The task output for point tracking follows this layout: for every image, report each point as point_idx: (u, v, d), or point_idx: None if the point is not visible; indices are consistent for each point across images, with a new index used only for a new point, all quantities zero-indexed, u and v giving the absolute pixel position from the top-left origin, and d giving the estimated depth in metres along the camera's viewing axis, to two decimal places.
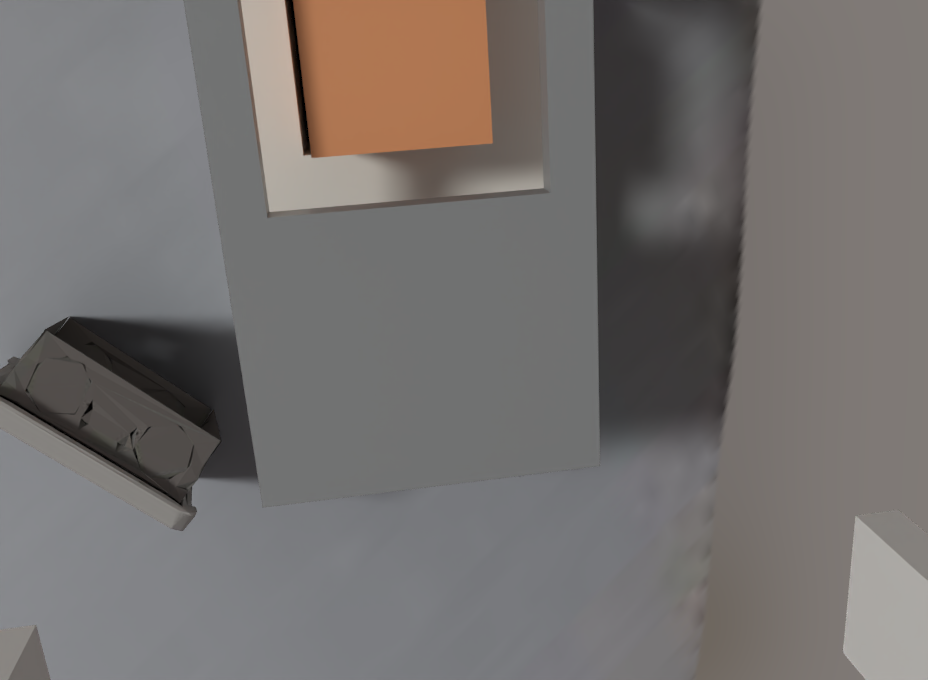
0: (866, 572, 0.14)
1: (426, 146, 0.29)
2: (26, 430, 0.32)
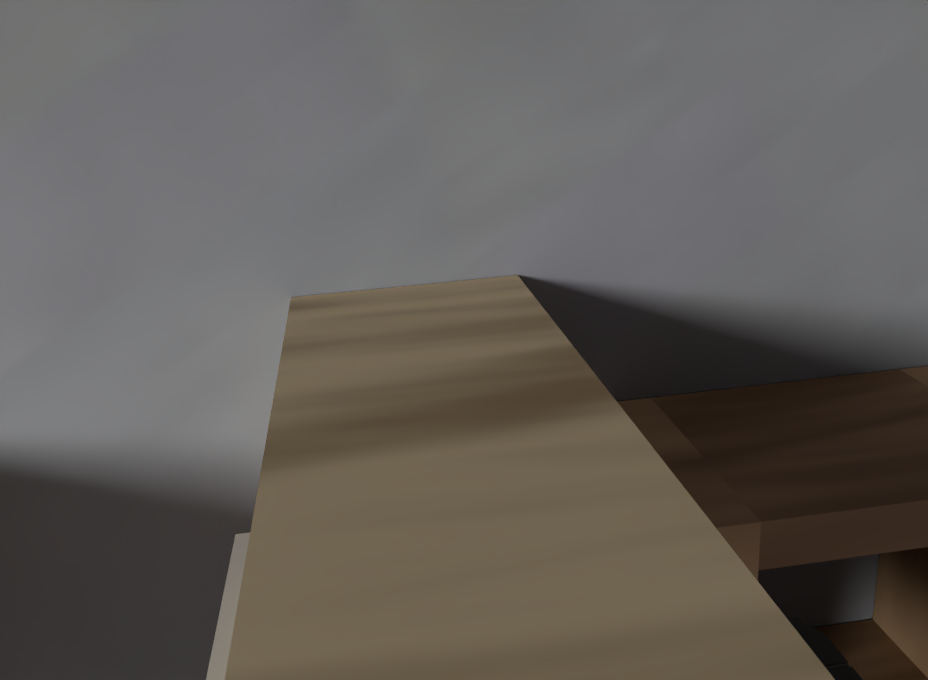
0: None
1: None
2: None
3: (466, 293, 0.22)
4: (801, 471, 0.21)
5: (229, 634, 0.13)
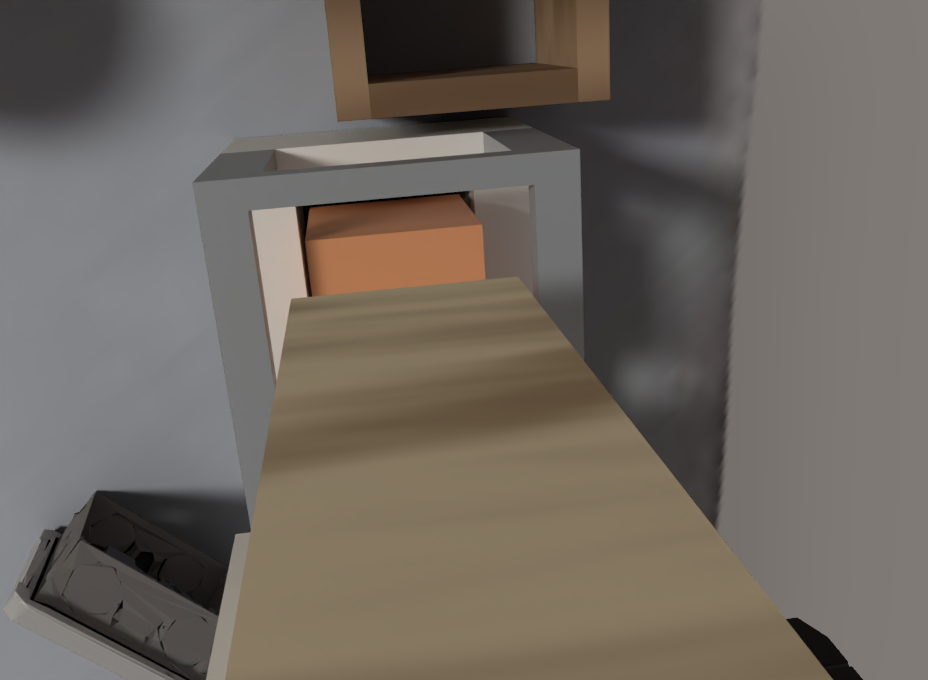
0: None
1: None
2: (63, 635, 0.34)
3: (466, 295, 0.22)
4: None
5: (229, 634, 0.13)
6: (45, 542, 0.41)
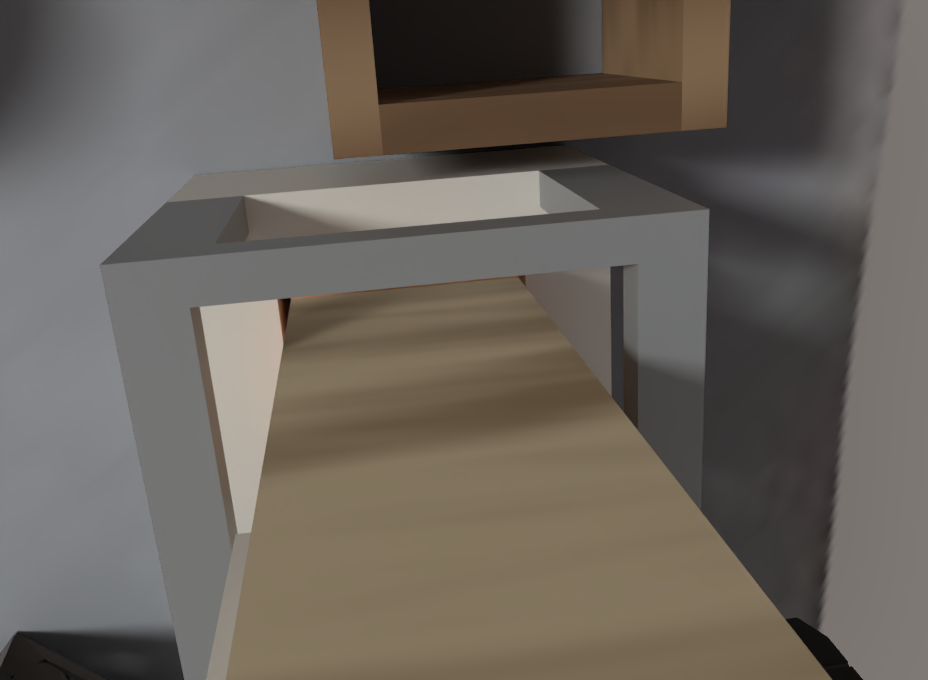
0: None
1: None
2: None
3: (466, 295, 0.22)
4: None
5: (229, 634, 0.13)
6: None
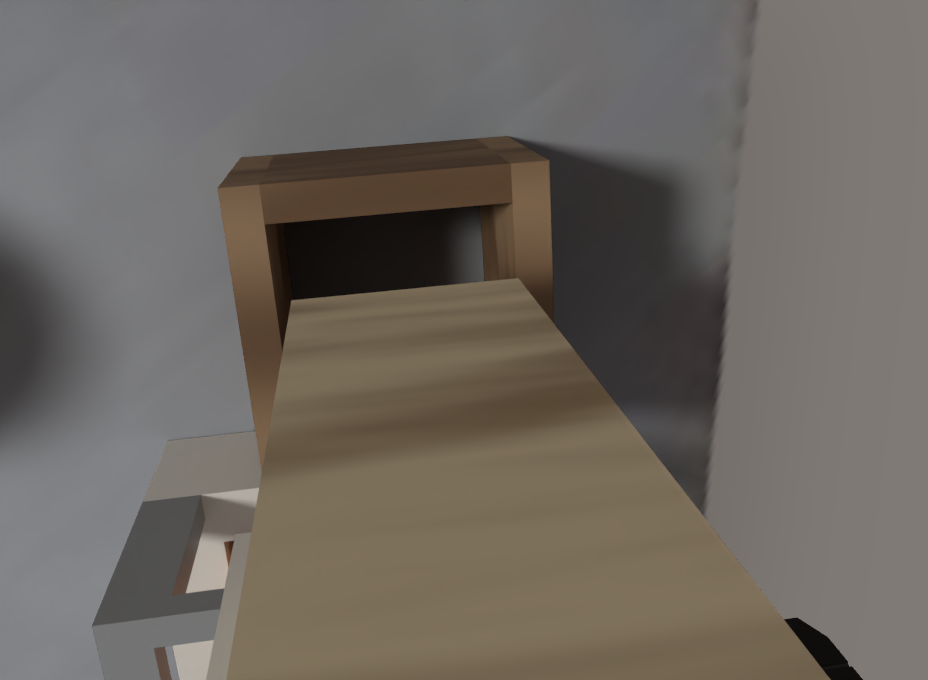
0: None
1: None
2: None
3: (467, 296, 0.22)
4: (323, 170, 0.28)
5: (229, 634, 0.13)
6: None
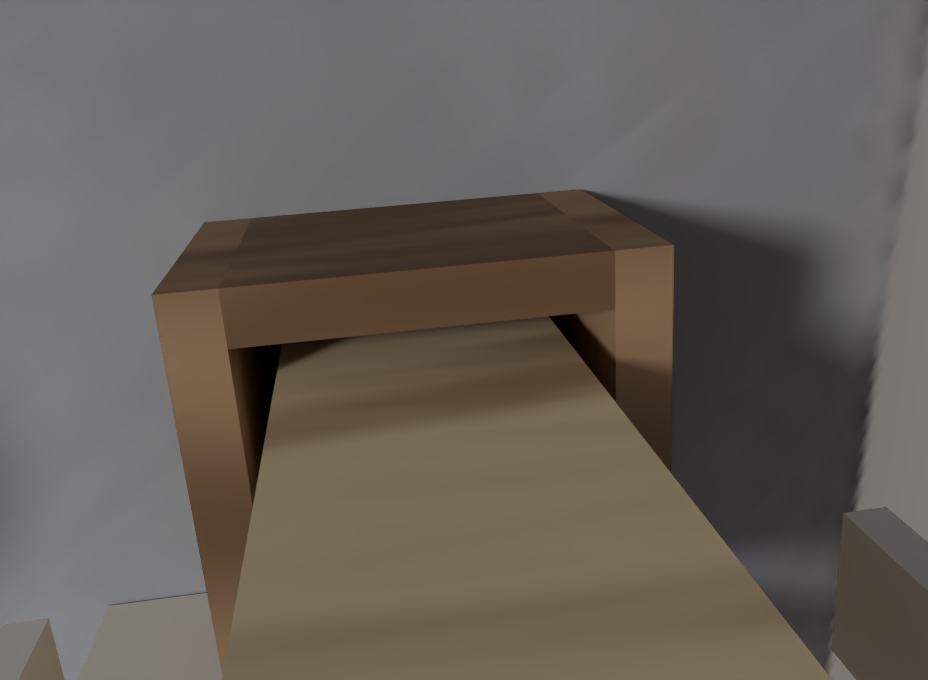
0: (853, 569, 0.14)
1: None
2: None
3: None
4: (322, 256, 0.18)
5: None
6: None
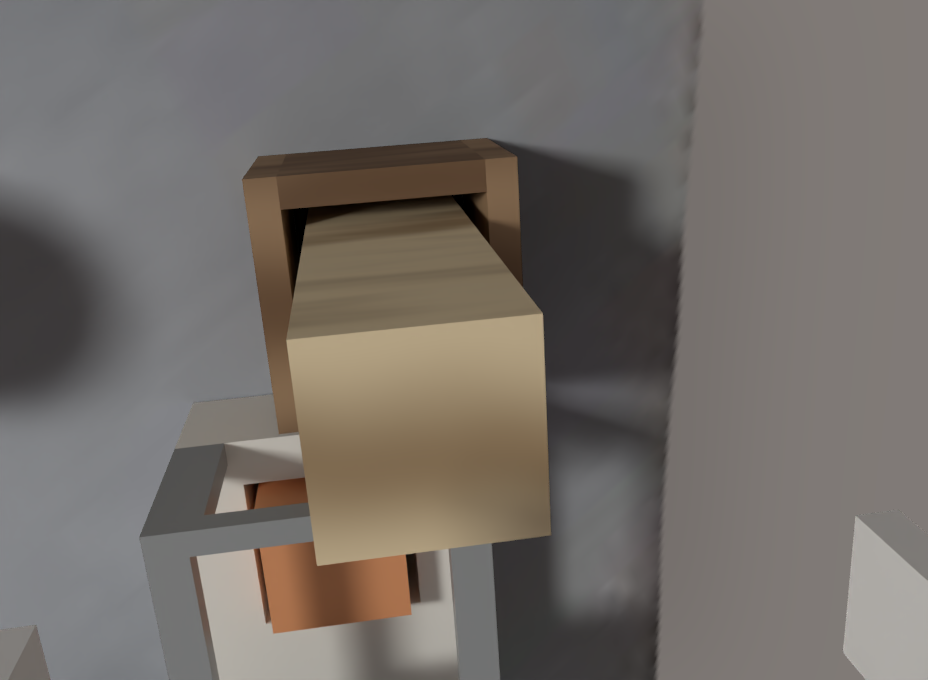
0: (866, 572, 0.14)
1: (360, 620, 0.39)
2: None
3: None
4: (329, 165, 0.34)
5: None
6: None
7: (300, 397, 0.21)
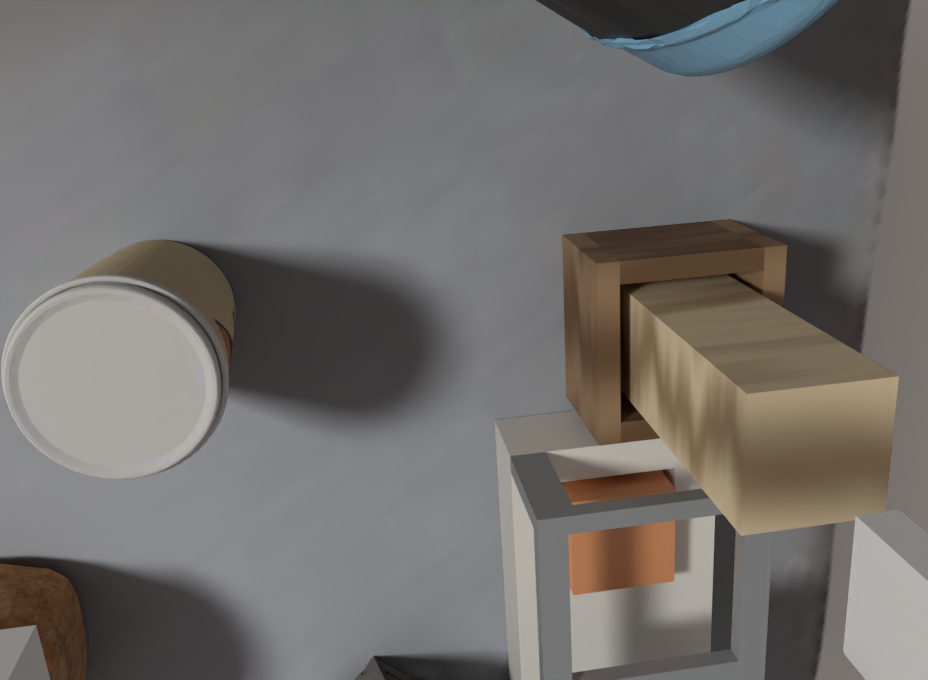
0: (866, 572, 0.14)
1: (637, 585, 0.51)
2: None
3: None
4: (644, 249, 0.46)
5: None
6: None
7: (749, 429, 0.33)
